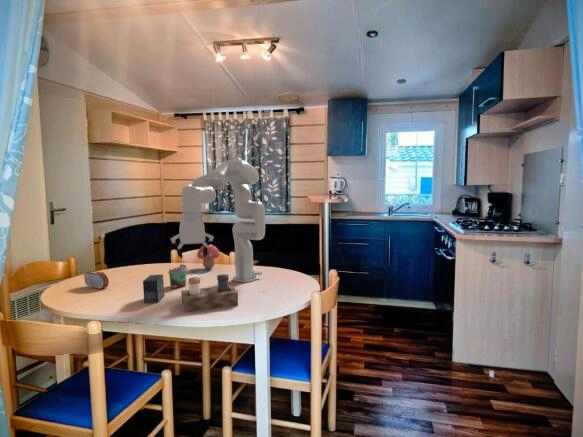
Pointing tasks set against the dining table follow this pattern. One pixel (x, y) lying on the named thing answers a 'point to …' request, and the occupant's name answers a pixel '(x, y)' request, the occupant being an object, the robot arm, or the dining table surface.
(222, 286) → the black plug
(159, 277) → the small box
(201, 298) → the block
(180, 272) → the food container
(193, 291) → the orange-brown and white plug
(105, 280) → the tin
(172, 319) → the dining table surface
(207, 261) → the decorative mushroom
